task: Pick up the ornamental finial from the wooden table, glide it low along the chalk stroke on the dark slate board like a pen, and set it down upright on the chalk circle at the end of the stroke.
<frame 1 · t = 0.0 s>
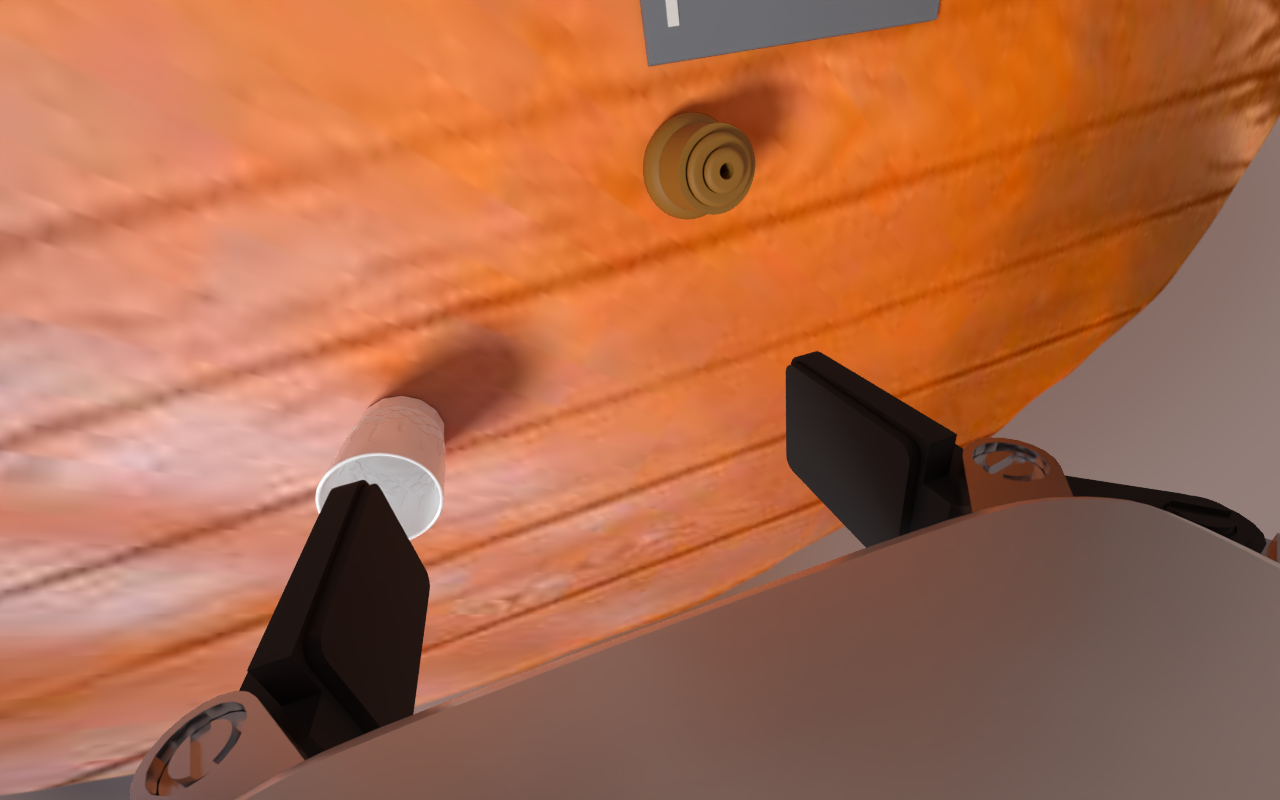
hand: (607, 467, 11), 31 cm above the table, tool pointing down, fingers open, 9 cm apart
white cup: (403, 428, 42), on the table
ornamental finial: (683, 167, 39), on the table
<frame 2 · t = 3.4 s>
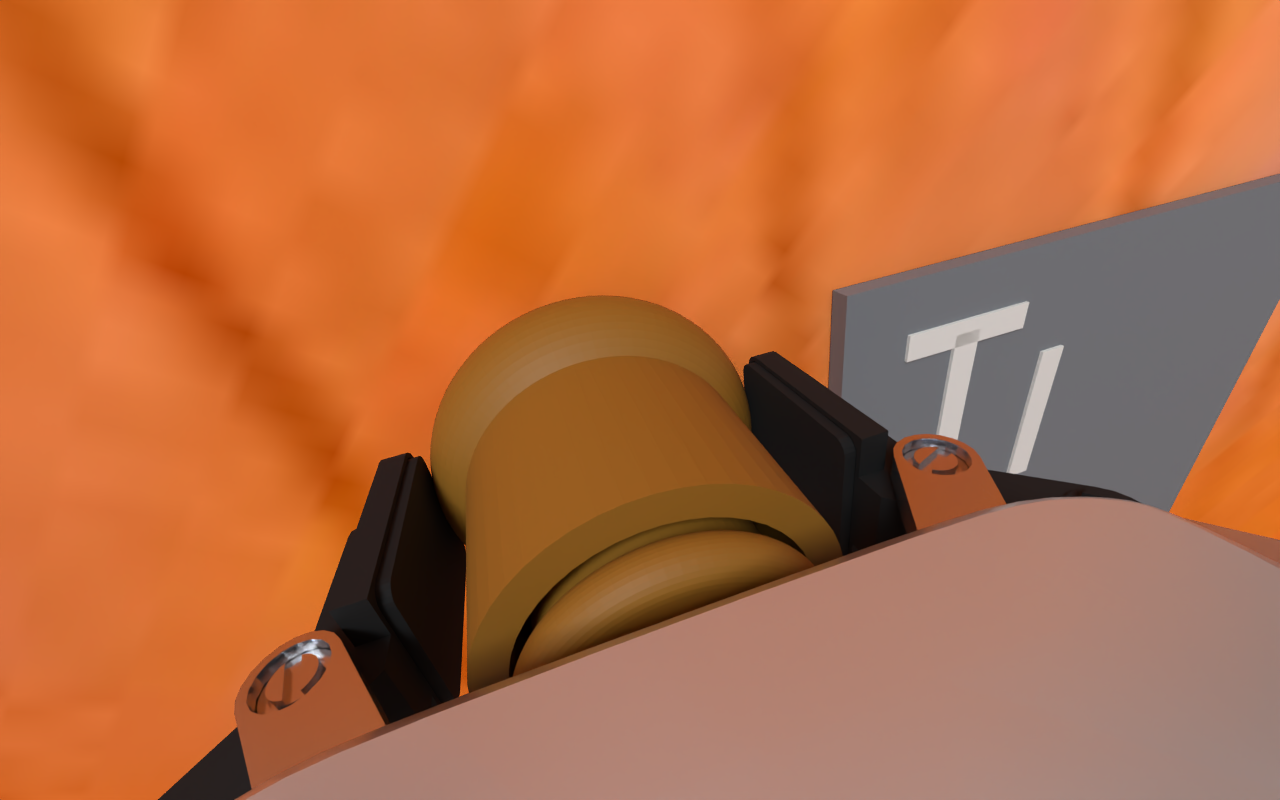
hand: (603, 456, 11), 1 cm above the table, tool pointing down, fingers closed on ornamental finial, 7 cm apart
slate board: (1011, 519, 20), on the table
ornamental finial: (589, 423, 13), on the table, touching gripper
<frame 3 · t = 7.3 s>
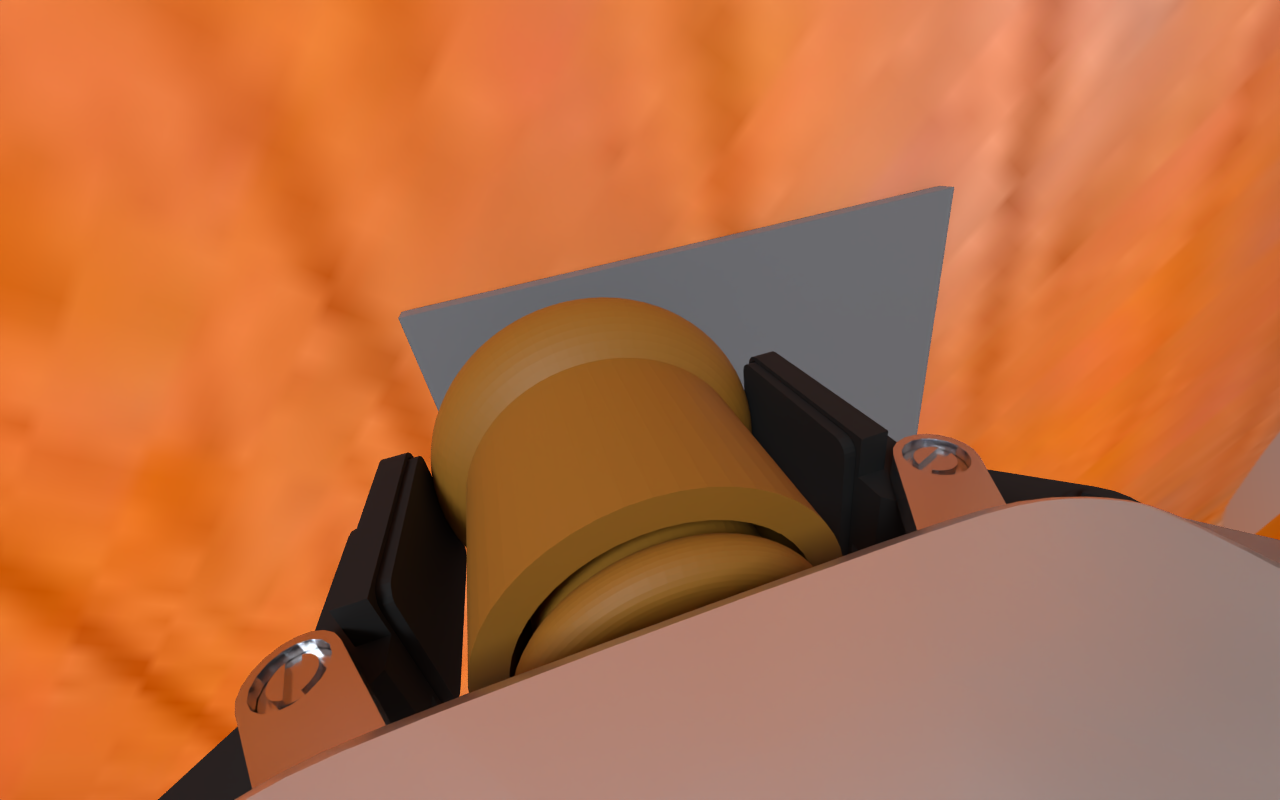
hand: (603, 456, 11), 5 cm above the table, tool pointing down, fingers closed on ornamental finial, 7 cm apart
slate board: (724, 522, 21), on the table
ornamental finial: (590, 424, 13), point 4 cm above the table, touching gripper
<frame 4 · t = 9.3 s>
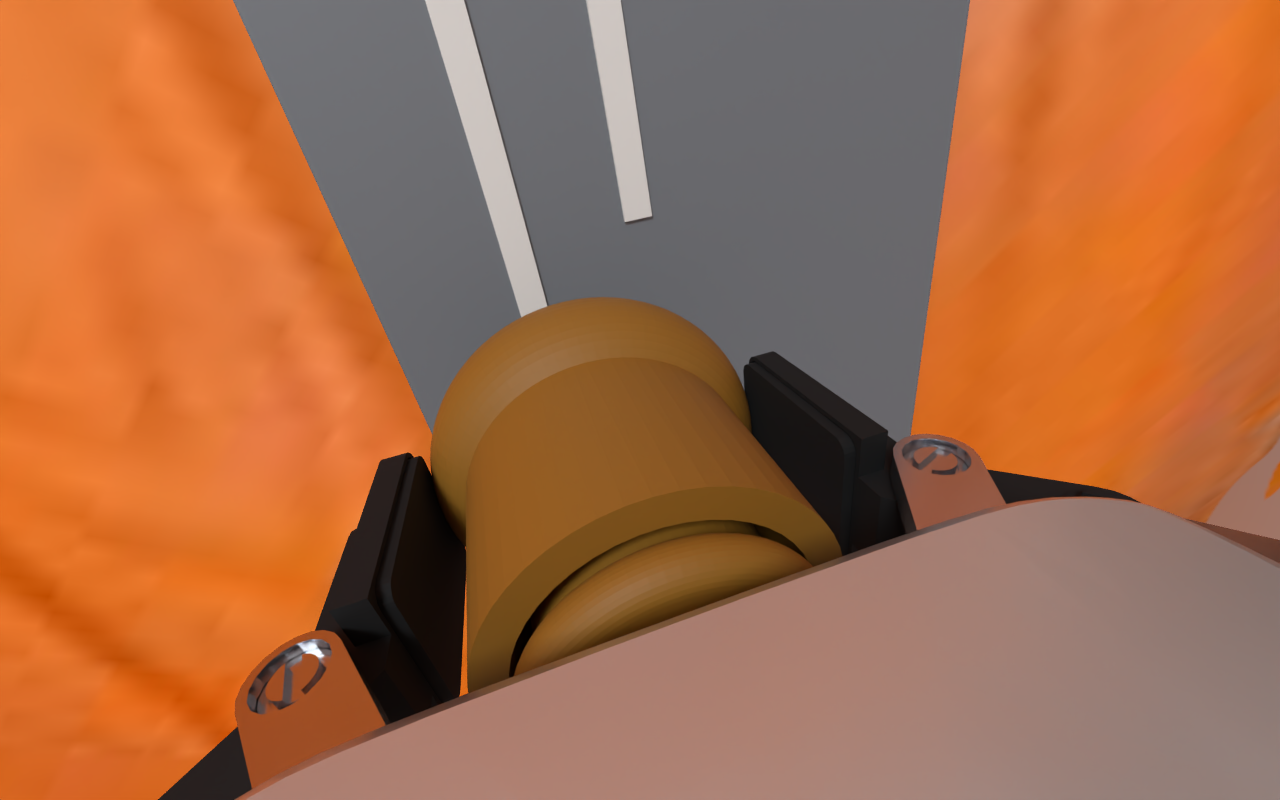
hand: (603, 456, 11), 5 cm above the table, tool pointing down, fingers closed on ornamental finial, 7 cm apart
slate board: (692, 315, 16), on the table
ornamental finial: (589, 424, 13), point 4 cm above the table, touching gripper
when the fingers open (3 cm above the table, at t = 11.3 s): ornamental finial drops 1 cm, resting on slate board.
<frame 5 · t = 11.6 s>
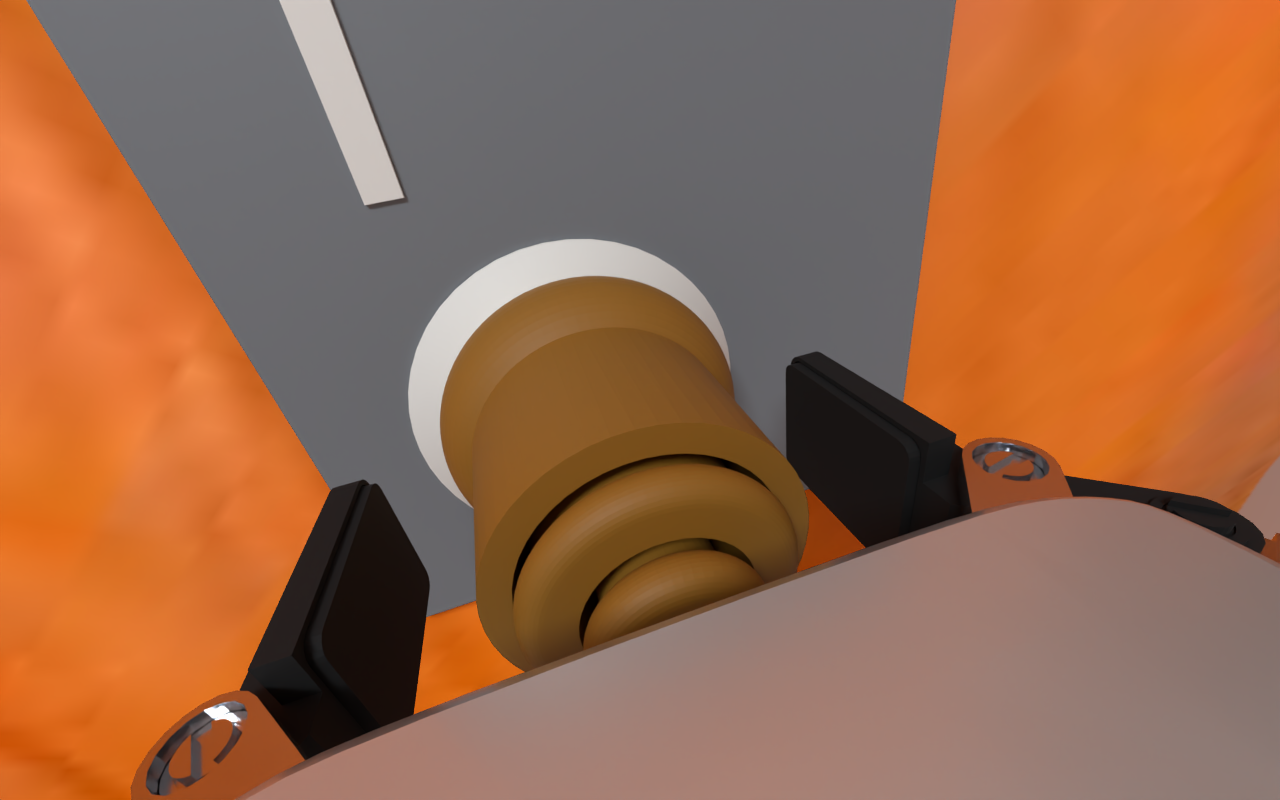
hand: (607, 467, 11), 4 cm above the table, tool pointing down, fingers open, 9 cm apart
slate board: (605, 157, 12), on the table
ornamental finial: (586, 398, 14), point 1 cm above the table, touching slate board
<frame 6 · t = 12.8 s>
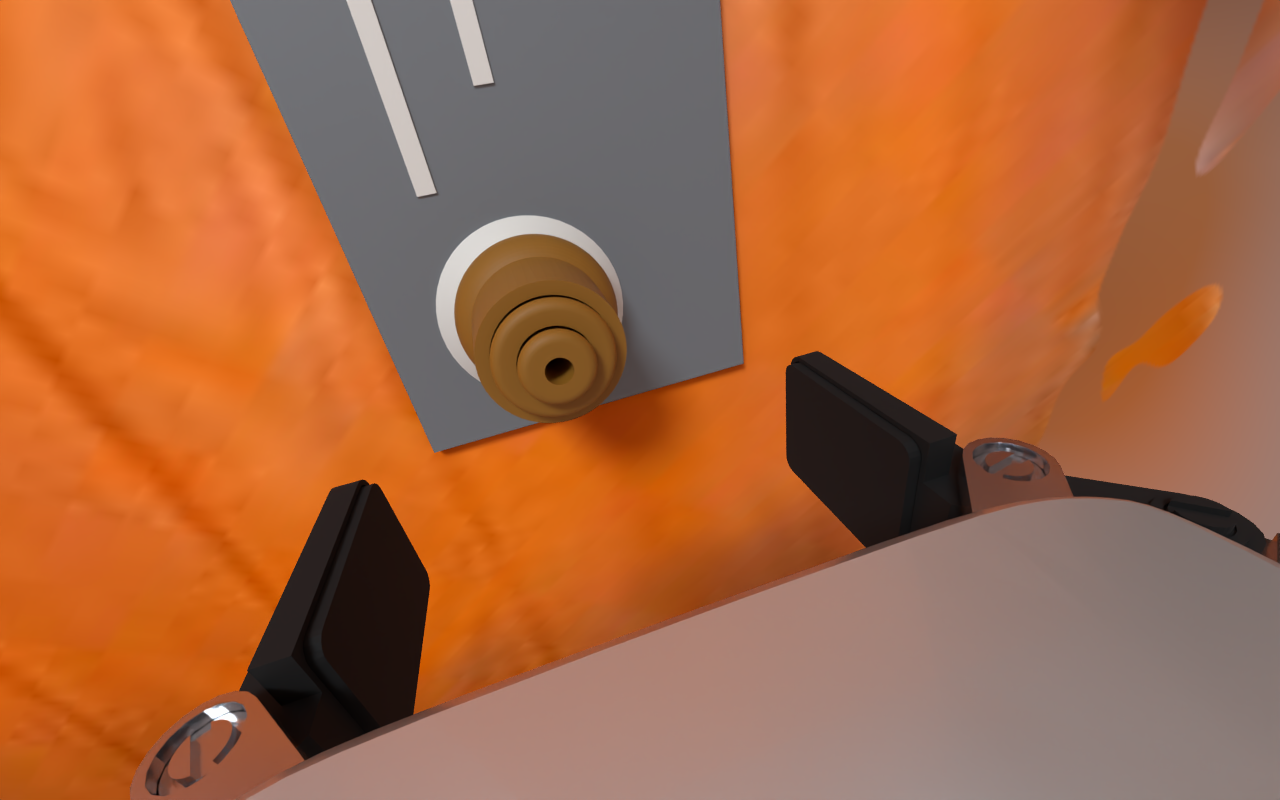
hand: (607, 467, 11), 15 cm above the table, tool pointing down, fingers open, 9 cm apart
slate board: (541, 172, 22), on the table
ornamental finial: (536, 309, 24), point 1 cm above the table, touching slate board
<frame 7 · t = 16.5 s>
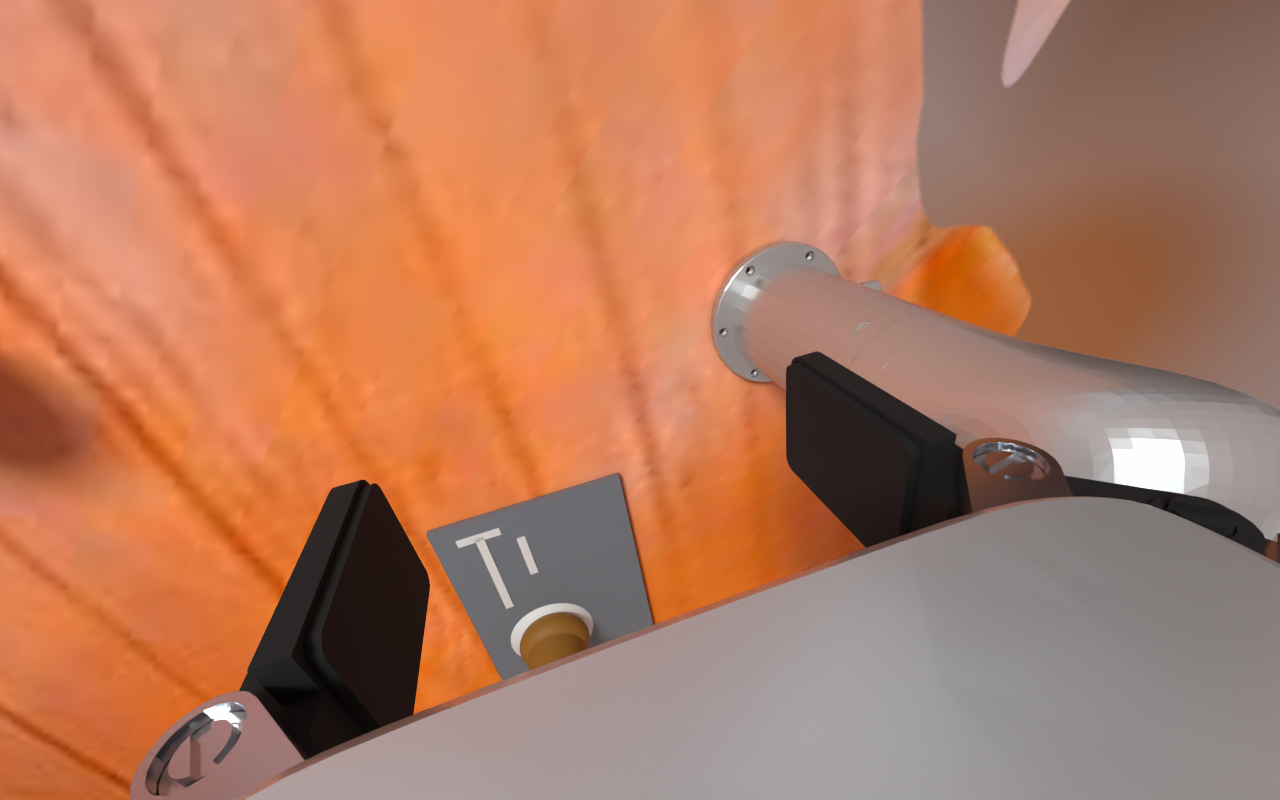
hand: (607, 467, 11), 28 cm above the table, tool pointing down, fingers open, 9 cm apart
slate board: (556, 586, 51), on the table
ornamental finial: (553, 631, 53), point 1 cm above the table, touching slate board
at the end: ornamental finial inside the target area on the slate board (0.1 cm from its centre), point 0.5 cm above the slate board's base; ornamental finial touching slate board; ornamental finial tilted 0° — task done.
